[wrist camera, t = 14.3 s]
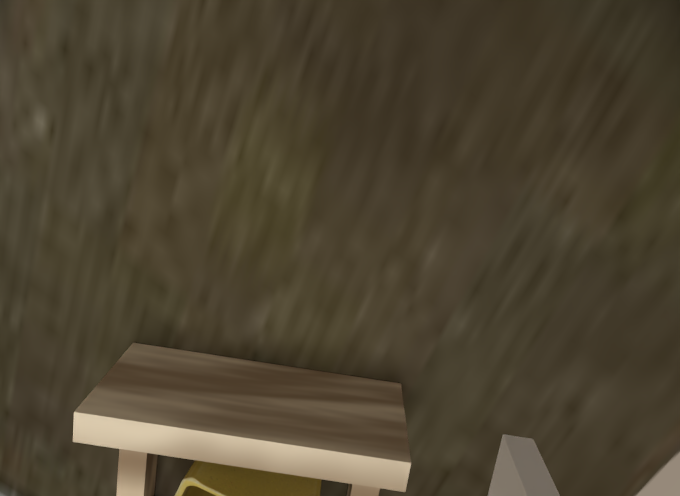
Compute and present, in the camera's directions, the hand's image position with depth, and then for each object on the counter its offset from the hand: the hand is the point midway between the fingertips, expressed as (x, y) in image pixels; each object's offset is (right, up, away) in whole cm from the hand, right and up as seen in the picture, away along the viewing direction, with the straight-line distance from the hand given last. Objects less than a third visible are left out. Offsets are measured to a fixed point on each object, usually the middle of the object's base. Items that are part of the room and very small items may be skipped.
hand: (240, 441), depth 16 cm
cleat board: (-4, -11, +33) cm, 35 cm away
